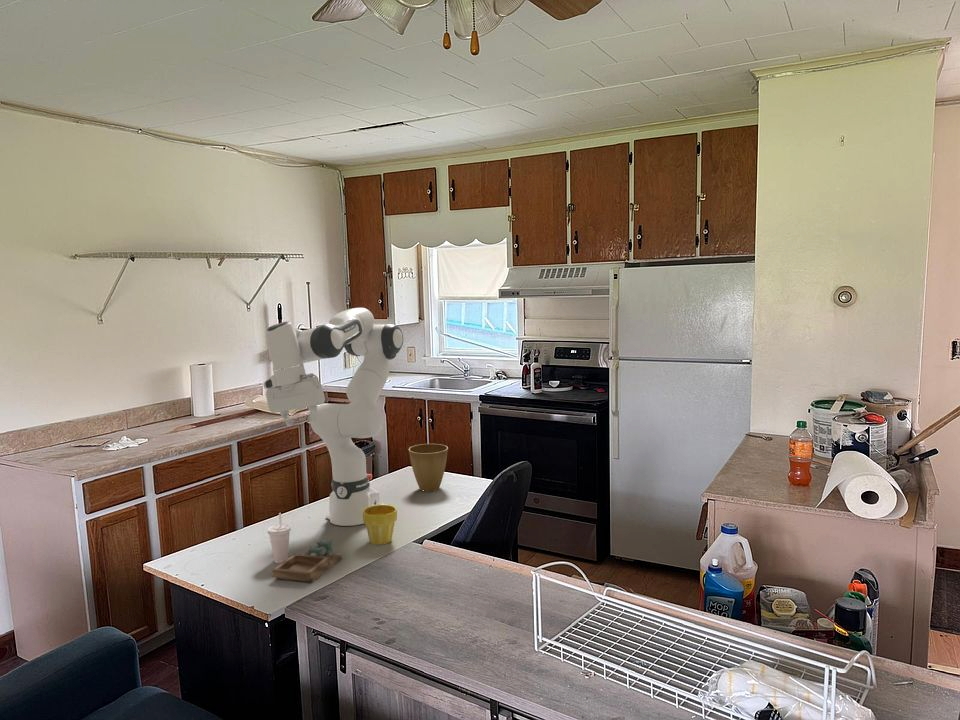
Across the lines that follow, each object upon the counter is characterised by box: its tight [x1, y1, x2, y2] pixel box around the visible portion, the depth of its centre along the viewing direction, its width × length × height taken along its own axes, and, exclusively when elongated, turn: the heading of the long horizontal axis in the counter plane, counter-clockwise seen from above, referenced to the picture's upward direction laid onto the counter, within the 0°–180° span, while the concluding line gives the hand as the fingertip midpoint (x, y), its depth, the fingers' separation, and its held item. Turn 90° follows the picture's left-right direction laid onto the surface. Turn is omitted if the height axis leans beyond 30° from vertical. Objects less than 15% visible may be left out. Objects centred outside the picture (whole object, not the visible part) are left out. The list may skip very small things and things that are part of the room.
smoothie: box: [267, 512, 292, 564], centre depth 192 cm, size 6×6×14 cm
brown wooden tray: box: [271, 540, 342, 583], centre depth 187 cm, size 20×11×4 cm, turn 164°
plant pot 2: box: [408, 443, 449, 492], centre depth 256 cm, size 15×15×16 cm
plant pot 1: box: [363, 504, 398, 545], centre depth 205 cm, size 10×10×10 cm
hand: (301, 423), depth 197 cm, fingers open, 8 cm apart
